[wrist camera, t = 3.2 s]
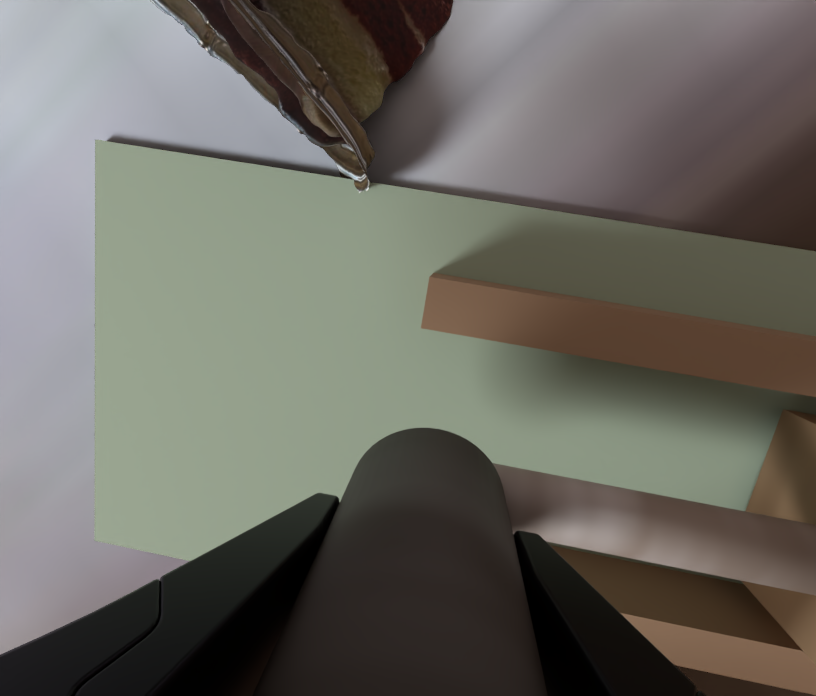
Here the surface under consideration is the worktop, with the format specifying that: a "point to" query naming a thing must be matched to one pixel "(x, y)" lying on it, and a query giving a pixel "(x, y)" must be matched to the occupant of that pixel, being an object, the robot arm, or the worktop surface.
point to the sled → (513, 563)
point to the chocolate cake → (317, 59)
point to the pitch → (436, 364)
